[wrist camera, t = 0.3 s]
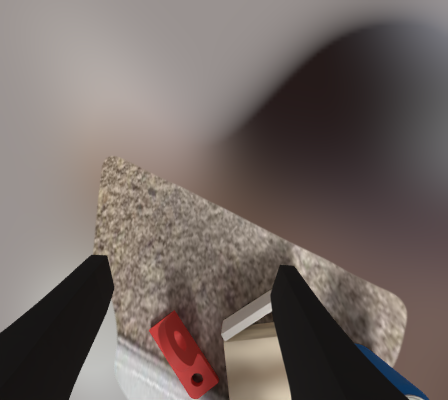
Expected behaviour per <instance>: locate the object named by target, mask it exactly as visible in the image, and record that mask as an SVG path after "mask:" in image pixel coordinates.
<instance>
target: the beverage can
mask: <svg viewBox="0 0 448 400" xmlns="http://www.w3.org/2000/svg"><path fill="white" fill-rule="evenodd" d="M354 344H355V343H354ZM355 345H356V346H357V347H358V348H359V349H360V350H361V352H362V353H363V354H364V355H365V356H366V357H367V358H368V359H369V360H370V361H371V362H372V363H373V364H374V365H375V366H376V368H377V369H378V370H379V371H380V372H381V373H382V374H383V375H384V376H385V377H386V378H387V379H388V380H389V381H390V382H391V383H392V384H393V385H394V386H395V387H397V388H398V389H399V390H400V391H401V392H402V393H403V394H404V395H405V396H406V397H407V398H408V399H409V400H429V399H428V398H427V397H426V395H425V394H423V392H422V391H420V390H419V389H418V388H417V387H415V386H414V385H413V384H411V383H410V382H409V381H408V380H407V379H405V378H404V377H403V376H401V375H400V374H399V373H398V372H397V371H395V370H394V369H393V368H392V367H390V366H389V365H388V364H387V363H385V362H384V361H383V360H382V359H381V358H379V357H378V356H377V355H376V354H374V353H373V352H372V351H371V350H369V349H368V348H367V347H365V346H363V345H360V344H355Z"/></svg>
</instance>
